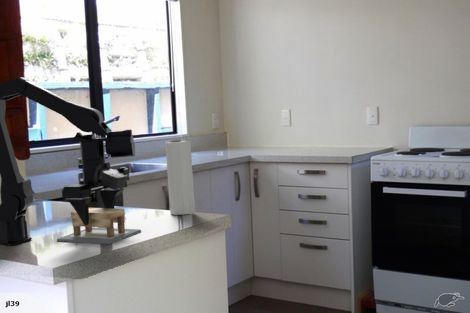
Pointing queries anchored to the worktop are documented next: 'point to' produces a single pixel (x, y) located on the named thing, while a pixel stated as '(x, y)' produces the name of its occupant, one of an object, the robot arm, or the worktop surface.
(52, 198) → the worktop surface
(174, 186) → the paper towel roll
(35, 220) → the worktop surface
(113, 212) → the oak stool
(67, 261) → the worktop surface
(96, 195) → the french press
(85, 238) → the charcoal mat
